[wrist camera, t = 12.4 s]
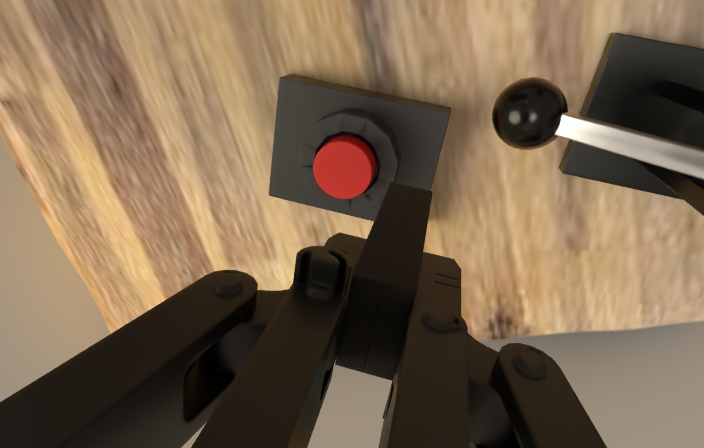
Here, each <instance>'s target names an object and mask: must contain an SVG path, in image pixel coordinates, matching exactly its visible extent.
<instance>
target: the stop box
mask: <svg viewBox="0 0 704 448" xmlns="http://www.w3.org/2000/svg"><path fill="white" fill-rule="evenodd" d="M450 112H451V108H449V107H444V106H439V105H434V104H430V103H425V102H420V101H415V100H411V99H406V98H401V97H396V96H392V95H387V94H382V93H377V92H372V91H368V90H363V89H358V88H353V87H349V86H344V85H339V84H334V83H330V82H325V81H320V80H315V79H310V78H306V77H301V76H296V75H291V74H290V75H287V76H284V77H281V78H280V79H279V90H278V101H277V112H276V122H275V133H274V144H273V155H272V166H271V176H270V187H269V196H273V197H277V198H281V199H285V200H289V201H293V202H297V203H301V204H306V205H310V206H314V207H318V208H322V209H326V210H330V211H334V212H338V213H342V214H346V215H351V216H355V217H359V218H363V219H367V220H371V221H375V219H376V217H377V214H378V212H379V209H380V207H381V205H382V202H383V200H384V197H385V195H386V193H387V190H388V188H389V185H390V183H391V182H393V183H397V184H402V185H406V186H411V187H415V188H420V189H424V190H428V191H430V190H431V186H432V183H433V179H434V175H435V171H436V167H437V163H438V160H439V156H440V152H441V148H442V144H443V140H444V136H445V133H446V129H447V125H448V121H449V117H450ZM343 135H349V136H354V137H357V138H359V139H361V140H363V141H364V142H365V143H366V144H367V145H368V146H369V147H370V148H371V150H372V151H373V153H374V156H375V159H376V171H375V174H374V177H373V179H372V180H371V182H370V184H369V186H368V187H367V189H366V190H365V191H364V192H363V193H362V194H360V195H359V196H357V197H354V198H350V199H340V198H336V197H333V196H331V195H329V194H327V193H326V192H325V191H324V190H323V189H322V188H321V187H320V186H319V185H318V183H317V181H316V179H315V176H314V171H313V165H314V160H315V157H316V155H317V153H318V152H319V150H320V149H321V148H322V147H323V146H324V145H326V144H327V143H328V142H329V141H330V140H332V139H333V138H335V137H338V136H343Z"/></svg>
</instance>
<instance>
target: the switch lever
mask: <svg viewBox="0 0 704 448" xmlns="http://www.w3.org/2000/svg"><path fill="white" fill-rule="evenodd" d="M492 122H493V126H494V129H495V132H496V133H497V135H498V136H499V138H500V139H501V140H502V141H503V142H505V143H506V144H507V145H509V146H511V147H513V148H516V149H521V150H532V149H537V148H541V147H543V146H545V145H547V144H549V143H550V142H552V141H553V140H554V139H555V138H556V137H557V136H559V137H562V138H566V139H569V140H572V141H576V142H579V143H583V144H586V145H589V146H593V147H596V148H599V149H603V150H606V151H609V152H613V153H616V154H619V155H623V156H626V157H629V158H633V159H636V160H640V161H643V162H646V163H650V164H653V165H656V166H660V167H663V168H666V169H670V170H673V171H676V172H680V173H683V174H686V175H690V176H693V177H696V178H700V179H703V180H704V148H700V147H697V146H693V145H689V144H685V143H682V142H678V141H674V140H671V139H667V138H663V137H659V136H656V135H652V134H648V133H644V132H641V131H637V130H633V129H630V128H626V127H622V126H618V125H615V124H611V123H607V122H603V121H600V120H596V119H592V118H589V117H585V116H581V115H577V114H574V113H570V112H568V107H567V102H566V99H565V96H564V94H563V93H562V91H561V90H560V89H559V88H558V87H557V86H556V85H555V84H553V83H552V82H550V81H548V80H545V79H542V78H534V77H531V78H524V79H520V80H518V81H515V82H514V83H512V84H510V85H509V86H507V87H506V88H505V89H504V90H503V91H502V92H501V93H500V95H499V96H498V98H497V100H496V102H495V104H494V107H493V111H492Z"/></svg>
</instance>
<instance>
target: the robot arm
mask: <svg viewBox="0 0 704 448" xmlns="http://www.w3.org/2000/svg"><path fill="white" fill-rule="evenodd" d="M431 198H432V191H428V190H424V189H420V188H415V187H411V186H406V185H402V184H397V183H393V182H391V183H390V185H389V188H388V190H387V193H386V195H385V197H384V200H383V202H382V205H381V207H380V209H379V212H378V214H377V217H376V219H375V221H374V224H373V226H372V229H371V231H370V233H369V236H368V238H367V239H364V238H360V237H356V236H352V235H347V234H343V233H338V234H336V235H334V236H332V237H330V238H329V239H328V240H327V242H326V244H325V245H324V246H310V247H307V248H304V249H302V250H300V251H299V252H298V253H297V256H296V264H295V272H294V280H293V284H292V286H291V287H290V289H288V290H282V291H265V290H257V286H258V284H257V282H256V281H255V279H254V278H253V277H252V276H250V275H248V274H247V273H244V272H240V271H237V270H221V271H215V272H213V273H210V274H208V275H206V276H204V277H202V278H201V279H199V280H198V281H196V282H194V283H193V284H191V285H189V286H188V287H186V288H185V289H183V290H181V291H180V292H178V293H176V294H175V295H173V296H172V297H170V298H168V299H167V300H165V301H164V302H162V303H160V304H159V305H157V306H155V307H154V308H152V309H151V310H149V311H147V312H146V313H144V314H142V315H141V316H139V317H138V318H136V319H134V320H133V321H131V322H130V323H128V324H126V325H125V326H123V327H121V328H120V329H118V330H117V331H115V332H113V333H112V334H110V335H109V336H107V337H105V338H104V339H102V340H100V341H99V342H97V343H96V344H94V345H93V346H91V347H89V348H88V349H86V350H84V351H83V352H81V353H79V354H78V355H76V356H75V357H73V358H71V359H70V360H68V361H67V362H65V363H63V364H62V365H60V366H58V367H57V368H55V369H54V370H52V371H50V372H49V373H47V374H45V375H44V376H42V377H41V378H39V379H37V380H36V381H34V382H32V383H31V384H29V385H28V386H26V387H25V388H23V389H21V390H19V391H18V392H16V393H15V394H13V395H12V396H10V397H8V398H6V399H5V400H3V401H2V402H0V448H181V447H182V446H183V445H184V444H185V443H186V442H187V441H188V440H189V439H190V438H191V437H192V436H193V435H194V434H195V433H196V432H197V431H198V430H199V429H200V428H201V427H202V426H203V425H204V424H205V423H206V422H207V423H206V425H205V426H204V428H203V430H202V431H201V433H200V434H199V436H198V437H197V439H196V441H195V442H194V444H193V445H192V447H191V448H307V446H308V444H309V441H310V438H311V435H312V432H313V429H314V426H315V423H316V421H317V418H318V415H319V412H320V409H321V407H322V404H323V401H324V398H325V395H326V392H327V389H328V387H329V383H330V381H331V377H332V371H333V366H334V362H335V360H336V363H335V364H336V365H339V366H342V367H346V368H349V369H353V370H356V371H360V372H364V373H367V374H371V375H375V376H378V377H381V378H385V379H389V380H392V385H391V389H390V392H389V396H388V400H387V403H386V407H385V411H384V415H383V418H384V422H383V427H382V432H381V438H380V443H379V448H607V447H606V445H605V443H604V442H603V440H602V438H601V437H600V435H599V433H598V431H597V430H596V428H595V426H594V425H593V423H592V421H591V420H590V418H589V416H588V415H587V413H586V411H585V409H584V408H583V406H582V404H581V403H580V401H579V399H578V397H577V396H576V394H575V392H574V391H573V389H572V388H571V386H570V384H569V382H568V381H567V379H566V377H565V375H564V374H563V372H562V370H561V369H560V367H559V366H558V365H557V364H556V362H555V361H554V360H553V359H552V358H551V357H549V356H548V355H547V354H545V353H544V352H543V351H541V350H539V349H536V348H534V347H532V346H529V345H524V344H521V343H511V344H510V343H509V344H507V345H505V346H503V347H502V348H501V350H500V351H499V352H497V351H495V350H493V349H491V348H489V347H486V346H485V345H483V344H481V343H480V342H478V341H477V340H475V339H474V338H473V337H472V336H470V335H469V333H468V331H467V325H466V322H465V320H464V319H463V318H462V317H461V269H460V267H459V266H458V264H457V263H456V261H455V260H454V259H451V258H447V257H443V256H439V255H435V254H430V253H426V252H423V249H424V242H425V236H426V230H427V223H428V217H429V210H430V204H431ZM336 357H337V358H336Z"/></svg>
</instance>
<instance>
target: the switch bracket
mask: <svg viewBox="0 0 704 448" xmlns="http://www.w3.org/2000/svg"><path fill="white" fill-rule="evenodd" d="M580 115H581V116H585V117H589V118H592V119H596V120H600V121H603V122H607V123H611V124H615V125H618V126H622V127H626V128H630V129H633V130H637V131H641V132H644V133H648V134H652V135H656V136H659V137H663V138H667V139H671V140H674V141H678V142H682V143H685V144H689V145H693V146H697V147H700V148H704V49H701V48H695V47H690V46H684V45H679V44H673V43H668V42H662V41H657V40H651V39H646V38H640V37H635V36H629V35H624V34H618V33H611V34H610V37H609V40H608V42H607V45H606V47H605V50H604V53H603V55H602V58H601V60H600V63H599V66H598V68H597V71H596V73H595V76H594V79H593V81H592V84H591V86H590V89H589V92H588V94H587V97H586V99H585V102H584V104H583V107H582V110H581V112H580ZM559 169H560V170H561V172H562V173H564V174H569V175H573V176H578V177H582V178H587V179H591V180H596V181H601V182H605V183H610V184H614V185H619V186H623V187H628V188H632V189H637V190H641V191H646V192H650V193H655V194H660V195H664V196H669V197H673V198H678V199H682V200H685V201H686V202H687V203H689V204H690V205H691V206H692V207H693V208H695V209H696V210H697V211H698V212H700V213H701V214H702V215H703V216H704V180H703V179H700V178H696V177H693V176H690V175H686V174H683V173H680V172H676V171H673V170H670V169H666V168H663V167H660V166H656V165H653V164H650V163H646V162H643V161H640V160H636V159H633V158H629V157H626V156H623V155H619V154H616V153H613V152H609V151H606V150H603V149H599V148H596V147H593V146H589V145H586V144H583V143H579V142H576V141H572V140H570V141H569V143H568V146H567V149H566V151H565V154H564V156H563V159H562V162H561V164H560V167H559Z"/></svg>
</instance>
